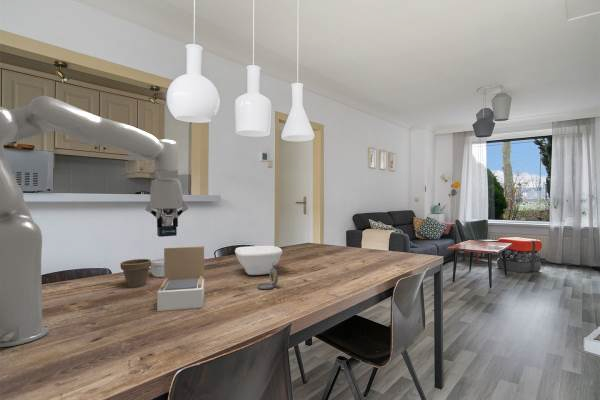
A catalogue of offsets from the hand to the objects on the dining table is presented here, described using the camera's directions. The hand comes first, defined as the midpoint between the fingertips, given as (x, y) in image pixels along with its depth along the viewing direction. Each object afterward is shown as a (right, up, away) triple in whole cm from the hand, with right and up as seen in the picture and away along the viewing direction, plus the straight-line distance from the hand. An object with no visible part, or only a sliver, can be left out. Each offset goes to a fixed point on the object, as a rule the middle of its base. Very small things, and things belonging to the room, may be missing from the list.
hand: (167, 228), depth 114 cm
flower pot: (-23, -26, +23) cm, 41 cm away
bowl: (+26, -25, +44) cm, 57 cm away
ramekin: (-18, -26, +42) cm, 52 cm away
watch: (0, -2, 0) cm, 2 cm away
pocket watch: (+33, -26, +20) cm, 46 cm away
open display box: (+4, -26, +2) cm, 26 cm away
